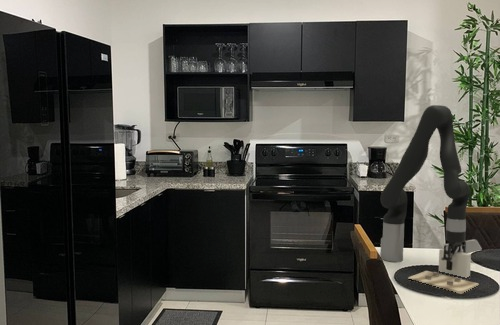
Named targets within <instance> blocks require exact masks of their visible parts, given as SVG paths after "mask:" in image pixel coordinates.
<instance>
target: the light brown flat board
mask: <svg viewBox="0 0 500 325" xmlns="http://www.w3.org/2000/svg"><path fill="white" fill-rule="evenodd" d="M408 279H412V280H416V281H419V282H422V283H426V284H429V285H432V286H431V287H433V286H436V287H435V288H437V287H439V288H438V289H440V288H443V289H442V290H444V289H446V290H445V291H448V290H449V291H448V292H451V291H453V292H452V293H455V292H456V294H458V295H459V294H460V295H462V294H465V293H467V292H469V291H471V290H473V289H472V288H474V287H476V286H478V285H479V284H480V283H478V282H473V281H469V280H466V279H462V278H458V277H454V276H450V275H446V274H442V273H439V272H437V271H429V270H424V271H422V272H419V273H416V274H414V275H410V276H408V277H407V280H408ZM422 283H421V284H422ZM426 284H425V285H426ZM429 285H428V286H429ZM478 287H479V286H478ZM476 288H477V287H476ZM470 289H471V290H470ZM474 289H475V288H474ZM468 290H469V291H468ZM466 291H467V292H466ZM464 292H465V293H464Z"/></svg>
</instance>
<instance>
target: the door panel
mask: <svg viewBox="0 0 500 325" xmlns="http://www.w3.org/2000/svg"><path fill="white" fill-rule="evenodd" d="M438 252H439V253H438V272H439V271H440V272H445V273H449V274H453V275H457V276H461V277H465V278H467V277H469V276H470V277H471V261H472V253H463V252H457V253H456V256H455V257H454V258H453V263H452V270H447V269H446V263H447V261H446V260H444V259H443V256H444V247H443V248H440V249H439V251H438ZM446 256H447V254H446Z"/></svg>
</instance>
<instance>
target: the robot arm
mask: <svg viewBox="0 0 500 325" xmlns="http://www.w3.org/2000/svg"><path fill="white" fill-rule="evenodd" d="M453 120H454V119H453V114H452V111H451V109H450V108H449V107H448V106H445V105H439V104H437V105H435V104H433V105H428V107H426V108H425V109H424V111H423V113H422V115H421V117H420V120H419V123H418V125H417V128H416V130H415V132H414V134H413V136H412V138H411V139H410V142H409V144H408V146H407V148H406V149H405V151H404V153H403V154H402V157H401V159H400V161H399V163H398V165H397V167H396V169H395V171H394V173H393V174H392V177H391V178H390V180H389V181H388V183H387V184H386V185H385V187H384V188H383V190H382V192H381V194H380V199H379V200H380V204H381V206H382V207H383V208H385V209H388V210H387V212H386V213H385V214H384V215H383V216H382V217H383V220H382V222H383V223H382V227H383V228H382V237H381V238H380V255H379V256H380V257H381V258H380V259H382V260H383V261H387V262H390V263H391V262H392V263H398V262H399V263H400V262H403V260H404V243H405V242H404V238H405V219H406V217H407V210H408V209H407V208H408V195H407V192H406V191H405V186H406V185H407V184H408V183H409V182H410V181H412V180H413V178H414V177H415V176H416V175H417V174H418V173H419V171H420V170H421V169H422V168H423V165H425V162H426V160H427V157H428V153H429V144H430V141H431V138H432V136H433V134H434V133H435V131H436V129H437V132H438V134H439V139H440V140H439V142H440V146H439V161H440V163H441V164H440V165H441V168H442V173H443V189H444V192H445V194H446V196H447V197H448V198H449V199H452V202H450V204H449V205H448V206H447V214H446V222H445V223H446V224H445V240H446V241H448V243H449V244H448V243H447V244H448V245H444V244H443V245H444V246H443V248H444V256H443V259H444V260H446V261H447V263H446V269H447V270H452V263H453V258H454V257H455V256H456V253H457V252H463V253H466V236H467V235H466V232H467V231H466V230H467V220H466V217H467V215H466V212H467V211H466V210H467V206H468V203H469V199H470V195H471V194H470V193H471V189H470V188H471V187H470V185H469V184H468V183H467V182H466V181H464V180H460V177H459V175H460V174H461V173H462V166H461V163H460V158H459V155H458V151H457V146H456V141H455V140H456V139H455V131H454V130H455V129H454V123H453V122H454V121H453ZM446 254H447V256H446Z"/></svg>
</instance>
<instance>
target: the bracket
mask: <svg viewBox="0 0 500 325" xmlns="http://www.w3.org/2000/svg"><path fill="white" fill-rule="evenodd" d="M465 241H466V253H468V254H472V253H475V252H479V251H482V249H483V248H482V246H481V244H480V243H479V241H478V240H477V239H474V238H472V239H467V240H466V239H465ZM448 244H449V242H448V243H444V244H443V247H444V245H448Z"/></svg>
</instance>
